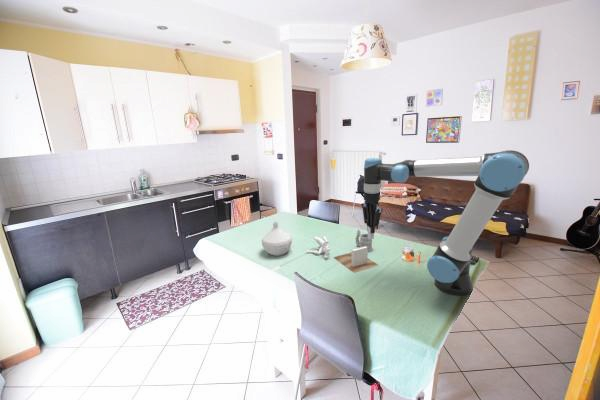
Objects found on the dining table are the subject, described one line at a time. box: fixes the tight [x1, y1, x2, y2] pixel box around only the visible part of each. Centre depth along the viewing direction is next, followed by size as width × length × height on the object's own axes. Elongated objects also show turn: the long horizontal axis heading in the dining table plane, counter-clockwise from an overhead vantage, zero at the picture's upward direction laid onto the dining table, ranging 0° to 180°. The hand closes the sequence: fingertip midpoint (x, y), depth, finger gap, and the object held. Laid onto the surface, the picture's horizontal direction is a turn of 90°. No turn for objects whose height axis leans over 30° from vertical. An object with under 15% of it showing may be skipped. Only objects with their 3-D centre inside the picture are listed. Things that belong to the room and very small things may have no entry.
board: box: [332, 251, 379, 274], centre depth 152 cm, size 20×16×1 cm
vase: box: [261, 221, 293, 257], centre depth 168 cm, size 18×18×19 cm
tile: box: [351, 246, 369, 267], centre depth 147 cm, size 2×9×9 cm, turn 115°
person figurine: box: [305, 236, 331, 259], centre depth 164 cm, size 13×13×18 cm
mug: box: [355, 229, 373, 253], centre depth 166 cm, size 8×12×12 cm, turn 35°
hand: (370, 238), depth 136 cm, fingers closed
